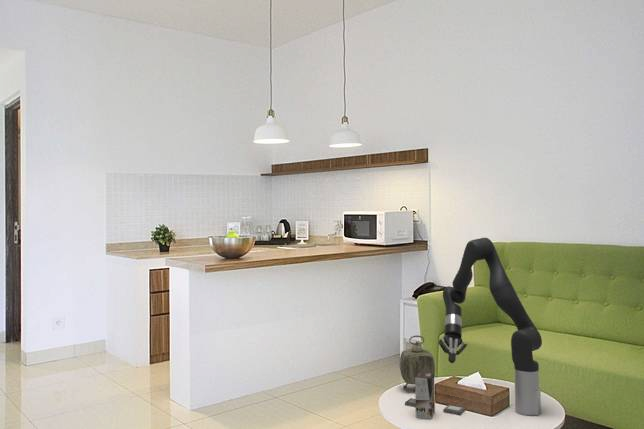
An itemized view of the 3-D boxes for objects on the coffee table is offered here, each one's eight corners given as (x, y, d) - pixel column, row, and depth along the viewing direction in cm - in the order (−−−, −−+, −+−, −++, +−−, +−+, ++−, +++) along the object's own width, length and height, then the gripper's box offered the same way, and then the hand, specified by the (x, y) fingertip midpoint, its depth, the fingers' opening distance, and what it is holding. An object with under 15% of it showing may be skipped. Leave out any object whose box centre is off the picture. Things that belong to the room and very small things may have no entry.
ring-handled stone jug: (431, 386, 258) (429, 333, 258) (436, 392, 249) (435, 337, 249) (400, 387, 257) (399, 334, 257) (404, 394, 248) (403, 338, 248)
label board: (465, 410, 226) (465, 407, 226) (460, 415, 221) (460, 411, 221) (410, 401, 239) (410, 397, 239) (404, 405, 234) (404, 401, 234)
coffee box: (431, 419, 217) (430, 378, 217) (415, 417, 219) (414, 377, 219) (435, 411, 225) (434, 372, 225) (419, 410, 228) (418, 370, 228)
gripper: (440, 320, 249) (438, 356, 239) (469, 325, 248) (469, 361, 238) (436, 327, 255) (435, 363, 245) (465, 332, 254) (465, 368, 244)
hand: (451, 362), depth 241 cm, fingers closed
